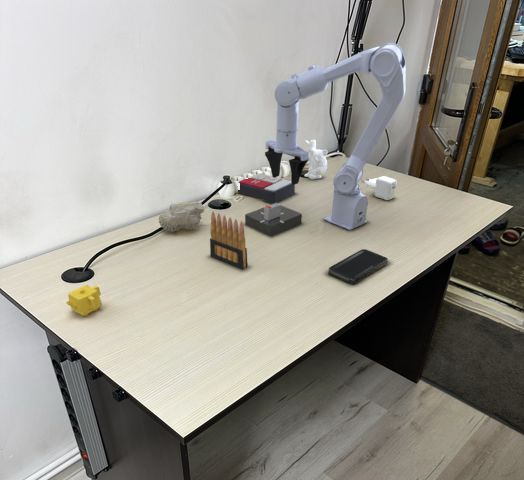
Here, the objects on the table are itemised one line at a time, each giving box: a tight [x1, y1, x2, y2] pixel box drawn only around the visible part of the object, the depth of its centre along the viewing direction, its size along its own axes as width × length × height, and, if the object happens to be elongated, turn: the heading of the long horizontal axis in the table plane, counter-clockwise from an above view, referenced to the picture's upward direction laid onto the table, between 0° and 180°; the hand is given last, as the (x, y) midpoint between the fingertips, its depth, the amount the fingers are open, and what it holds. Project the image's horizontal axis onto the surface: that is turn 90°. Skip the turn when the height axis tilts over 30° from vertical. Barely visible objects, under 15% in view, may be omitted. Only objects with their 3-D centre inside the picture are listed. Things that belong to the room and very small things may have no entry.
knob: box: [263, 202, 282, 221], centre depth 135 cm, size 5×2×4 cm, turn 133°
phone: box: [327, 248, 389, 285], centre depth 120 cm, size 8×1×15 cm
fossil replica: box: [158, 201, 205, 233], centre depth 135 cm, size 12×8×10 cm
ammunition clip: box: [209, 211, 249, 271], centre depth 119 cm, size 11×2×12 cm, turn 52°
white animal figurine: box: [304, 139, 329, 180], centre depth 166 cm, size 8×7×12 cm
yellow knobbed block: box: [65, 284, 102, 317], centre depth 104 cm, size 8×6×5 cm
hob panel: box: [244, 205, 303, 238], centre depth 139 cm, size 11×12×3 cm
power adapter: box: [360, 175, 398, 201], centre depth 156 cm, size 11×5×6 cm, turn 44°
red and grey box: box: [237, 173, 296, 204], centre depth 157 cm, size 11×4×15 cm
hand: (285, 180), depth 141 cm, fingers open, 7 cm apart
